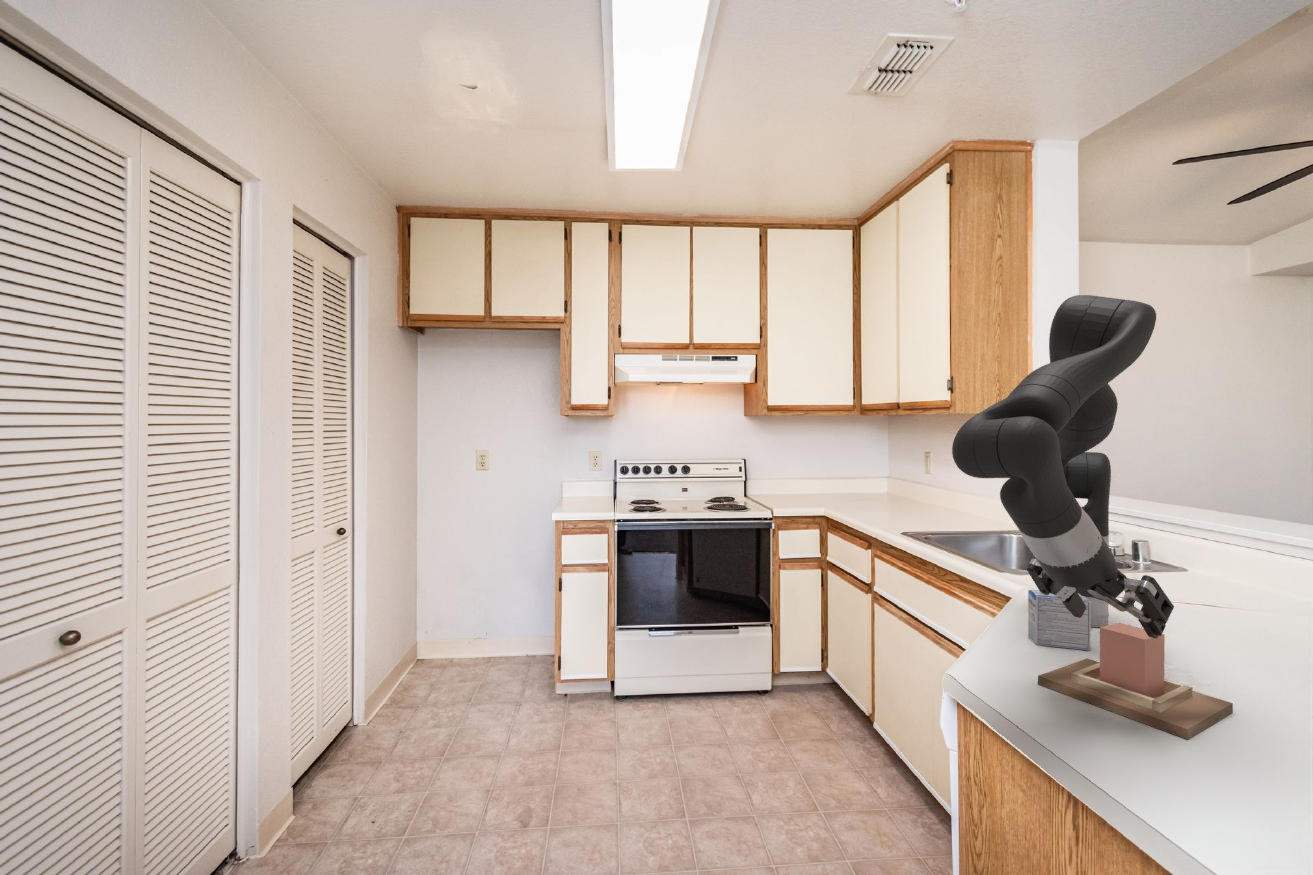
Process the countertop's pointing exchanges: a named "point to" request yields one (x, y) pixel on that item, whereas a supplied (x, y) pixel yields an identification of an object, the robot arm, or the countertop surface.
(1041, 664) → the countertop surface
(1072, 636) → the medicine box
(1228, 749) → the countertop surface
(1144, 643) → the salmon pink rectangular block
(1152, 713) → the socket plate
